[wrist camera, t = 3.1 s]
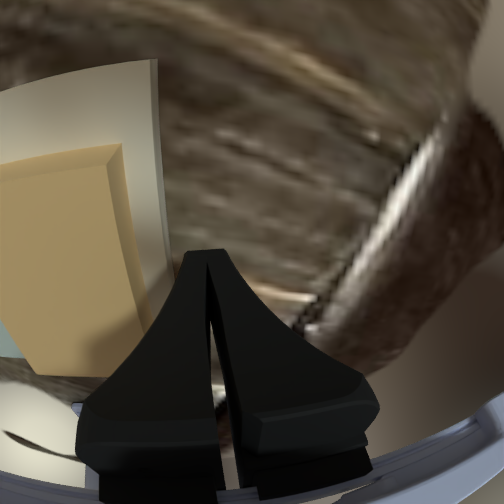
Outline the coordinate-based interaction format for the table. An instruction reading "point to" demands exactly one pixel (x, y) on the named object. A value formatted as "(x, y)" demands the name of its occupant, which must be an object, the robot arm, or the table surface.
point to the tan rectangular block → (71, 262)
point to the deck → (102, 133)
